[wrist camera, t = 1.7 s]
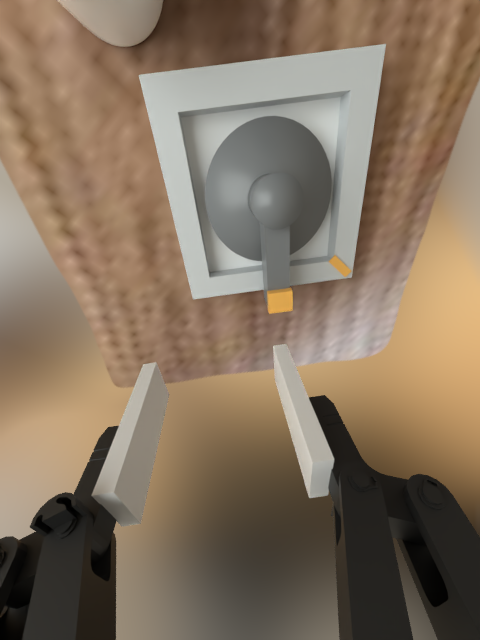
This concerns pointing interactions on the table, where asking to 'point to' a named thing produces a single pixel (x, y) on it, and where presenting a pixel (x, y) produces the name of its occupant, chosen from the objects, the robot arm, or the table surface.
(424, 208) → the table surface
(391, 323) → the table surface
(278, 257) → the dial
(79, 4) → the candle holder
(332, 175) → the dial panel
